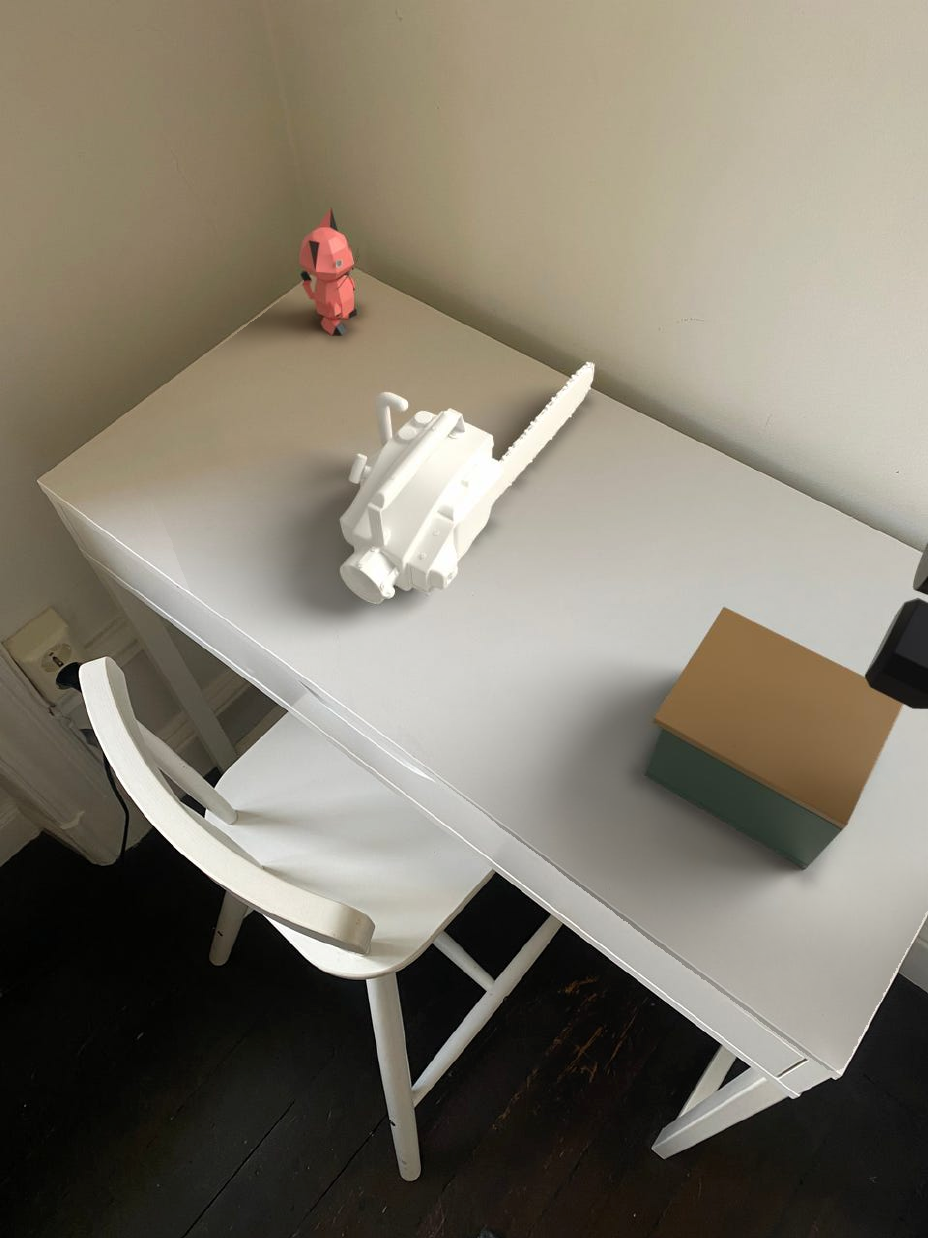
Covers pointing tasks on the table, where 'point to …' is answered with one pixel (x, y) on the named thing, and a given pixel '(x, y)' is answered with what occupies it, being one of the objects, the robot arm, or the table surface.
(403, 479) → the chainsaw
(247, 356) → the table surface
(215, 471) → the table surface
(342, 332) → the cat figurine
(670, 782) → the green open box
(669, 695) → the lid
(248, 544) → the table surface
